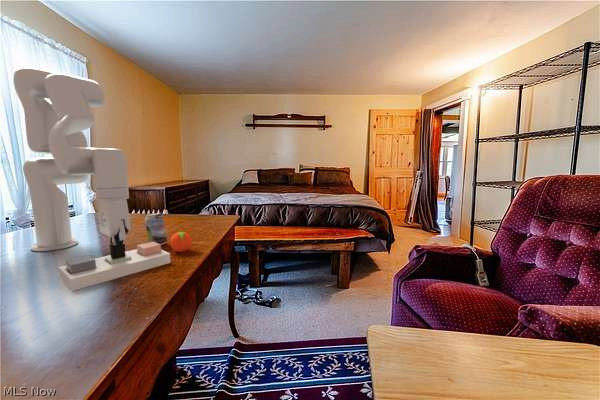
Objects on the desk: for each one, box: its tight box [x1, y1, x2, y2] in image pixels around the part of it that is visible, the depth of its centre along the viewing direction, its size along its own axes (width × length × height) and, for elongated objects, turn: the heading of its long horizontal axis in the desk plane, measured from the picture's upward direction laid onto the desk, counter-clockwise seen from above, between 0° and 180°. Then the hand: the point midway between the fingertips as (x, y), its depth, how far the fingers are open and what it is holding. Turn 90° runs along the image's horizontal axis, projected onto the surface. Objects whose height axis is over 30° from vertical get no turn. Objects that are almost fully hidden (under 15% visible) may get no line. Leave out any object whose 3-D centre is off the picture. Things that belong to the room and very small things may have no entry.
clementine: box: [170, 231, 193, 253], centre depth 94 cm, size 8×7×7 cm
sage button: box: [105, 254, 131, 265], centre depth 78 cm, size 5×5×3 cm
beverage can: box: [144, 212, 168, 246], centre depth 100 cm, size 6×7×12 cm
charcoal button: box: [65, 255, 96, 275], centre depth 71 cm, size 5×5×3 cm
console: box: [57, 248, 171, 292], centre depth 78 cm, size 12×24×3 cm, turn 142°
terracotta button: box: [136, 241, 162, 256], centre depth 85 cm, size 5×5×3 cm
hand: (118, 257), depth 78 cm, fingers closed
